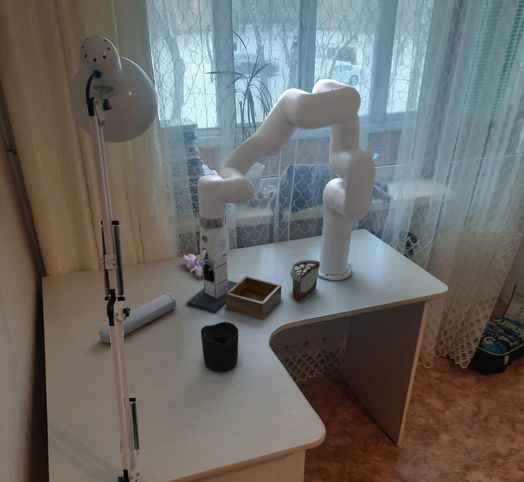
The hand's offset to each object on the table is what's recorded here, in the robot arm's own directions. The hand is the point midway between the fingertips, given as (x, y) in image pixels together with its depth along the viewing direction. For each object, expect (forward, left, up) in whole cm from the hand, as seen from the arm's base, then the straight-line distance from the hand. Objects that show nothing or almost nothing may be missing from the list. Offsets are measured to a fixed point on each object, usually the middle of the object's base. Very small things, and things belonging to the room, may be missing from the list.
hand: (215, 275), depth 154 cm
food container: (-14, +23, -8) cm, 28 cm away
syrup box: (0, 0, -7) cm, 7 cm away
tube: (+25, -11, -8) cm, 28 cm away
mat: (0, 0, -7) cm, 7 cm away
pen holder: (+29, +19, -8) cm, 35 cm away
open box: (-1, +13, -7) cm, 15 cm away
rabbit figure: (-11, -15, -8) cm, 20 cm away
